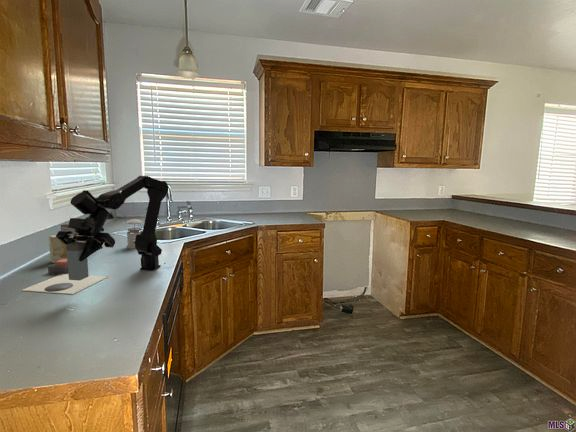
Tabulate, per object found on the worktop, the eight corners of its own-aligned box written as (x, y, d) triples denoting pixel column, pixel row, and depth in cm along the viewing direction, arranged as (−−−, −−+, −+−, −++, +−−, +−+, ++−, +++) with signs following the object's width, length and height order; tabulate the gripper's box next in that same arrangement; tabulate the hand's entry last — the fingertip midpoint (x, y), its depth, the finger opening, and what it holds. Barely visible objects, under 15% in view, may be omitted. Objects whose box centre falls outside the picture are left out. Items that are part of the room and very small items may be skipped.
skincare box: (53, 263, 148) (51, 237, 146) (50, 261, 151) (47, 235, 149) (69, 260, 153) (67, 235, 151) (66, 258, 156) (64, 233, 154)
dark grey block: (88, 276, 112) (86, 242, 110) (79, 280, 108) (77, 245, 107) (78, 275, 113) (75, 242, 111) (68, 279, 109) (66, 244, 107)
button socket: (80, 268, 142) (80, 261, 141) (65, 274, 134) (65, 267, 134) (63, 267, 143) (63, 260, 142) (48, 273, 135) (47, 266, 135)
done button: (72, 266, 140) (72, 259, 140) (65, 269, 136) (64, 262, 135) (64, 265, 140) (63, 258, 140) (55, 268, 136) (55, 261, 136)
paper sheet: (107, 277, 131) (107, 276, 131) (73, 294, 114) (73, 293, 113) (62, 274, 134) (62, 273, 134) (22, 290, 116) (21, 289, 116)
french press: (121, 247, 179) (118, 202, 175) (136, 242, 190) (134, 200, 186) (136, 249, 176) (133, 203, 172) (151, 244, 187) (149, 201, 183)
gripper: (57, 207, 112) (32, 246, 103) (107, 209, 110) (86, 249, 101) (76, 226, 121) (54, 263, 112) (123, 228, 119) (105, 266, 110)
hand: (74, 260), depth 108 cm, fingers closed on dark grey block, 4 cm apart
